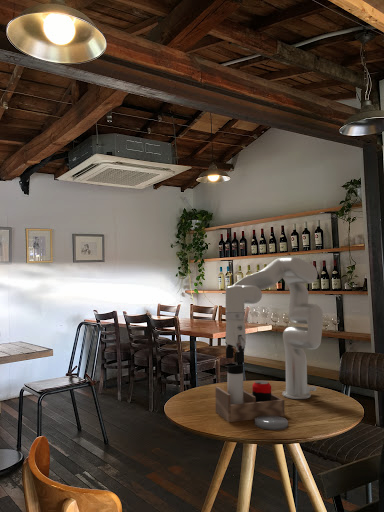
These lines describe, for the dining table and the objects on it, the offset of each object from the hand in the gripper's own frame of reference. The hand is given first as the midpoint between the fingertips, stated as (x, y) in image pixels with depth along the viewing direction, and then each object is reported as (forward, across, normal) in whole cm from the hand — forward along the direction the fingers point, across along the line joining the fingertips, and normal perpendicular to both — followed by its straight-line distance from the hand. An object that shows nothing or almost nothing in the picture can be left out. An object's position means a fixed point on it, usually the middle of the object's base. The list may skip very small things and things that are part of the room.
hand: (234, 360), depth 171 cm
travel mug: (+22, 0, -1) cm, 22 cm away
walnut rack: (+22, 0, -7) cm, 23 cm away
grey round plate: (+22, -14, -9) cm, 27 cm away
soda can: (+22, 0, -12) cm, 25 cm away
